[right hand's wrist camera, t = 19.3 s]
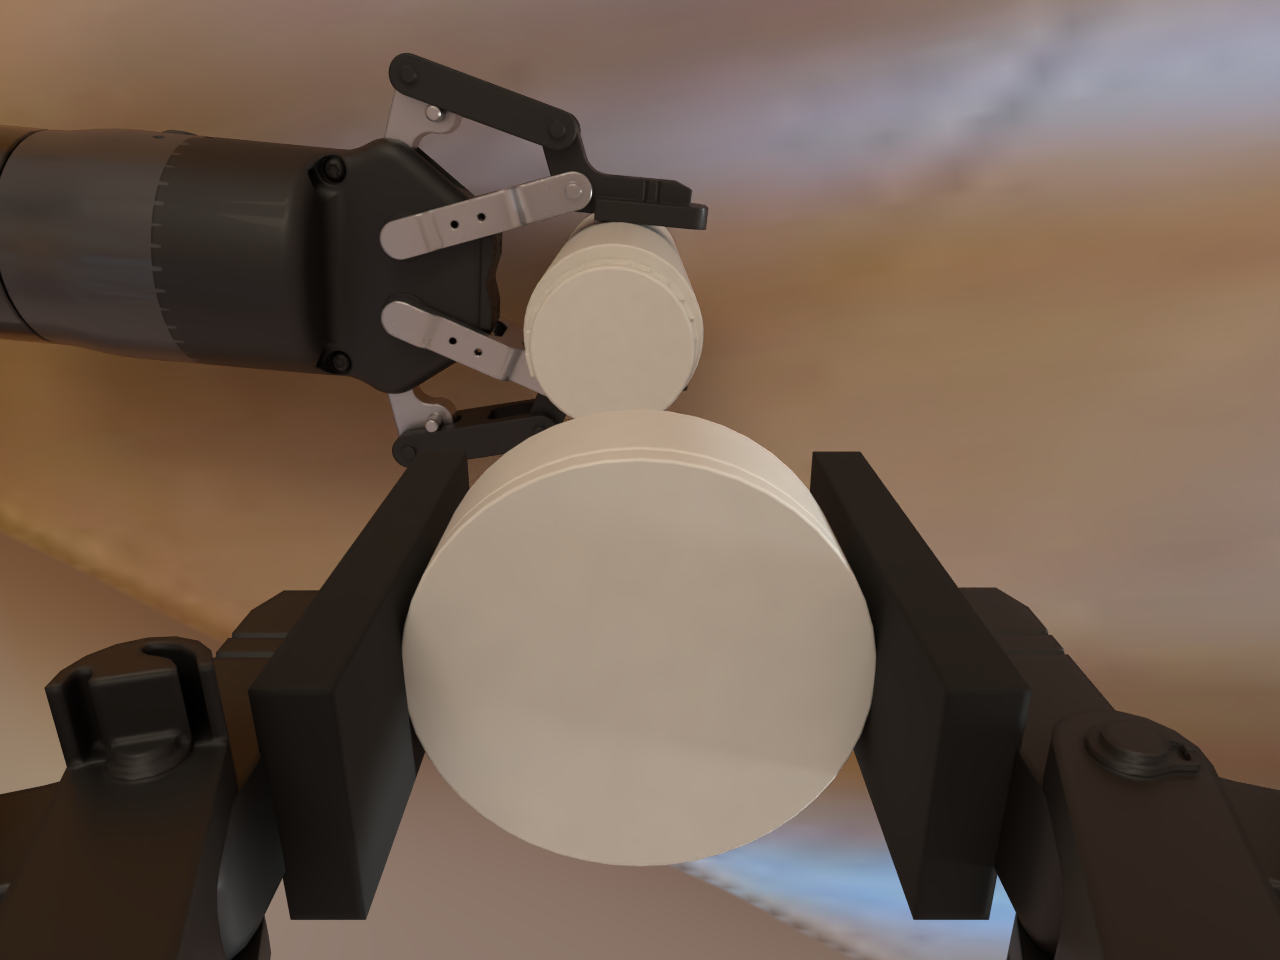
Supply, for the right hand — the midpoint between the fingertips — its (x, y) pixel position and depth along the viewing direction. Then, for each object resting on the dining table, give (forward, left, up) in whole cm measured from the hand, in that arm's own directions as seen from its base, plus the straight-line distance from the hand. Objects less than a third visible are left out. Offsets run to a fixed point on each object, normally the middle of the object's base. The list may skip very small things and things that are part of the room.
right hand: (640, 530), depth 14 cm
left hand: (+1, -2, -18) cm, 18 cm away
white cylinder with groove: (0, 0, +4) cm, 4 cm away
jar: (+1, +1, -24) cm, 24 cm away
